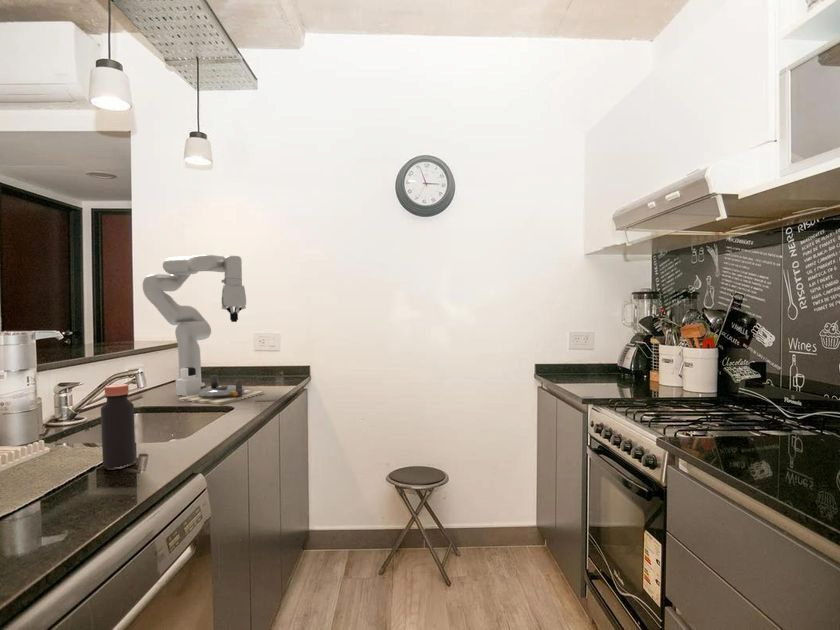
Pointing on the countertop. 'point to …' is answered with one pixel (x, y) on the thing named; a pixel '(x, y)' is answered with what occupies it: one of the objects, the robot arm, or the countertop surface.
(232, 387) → the flange plate
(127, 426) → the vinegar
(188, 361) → the robot arm
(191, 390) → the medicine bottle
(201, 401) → the base board
